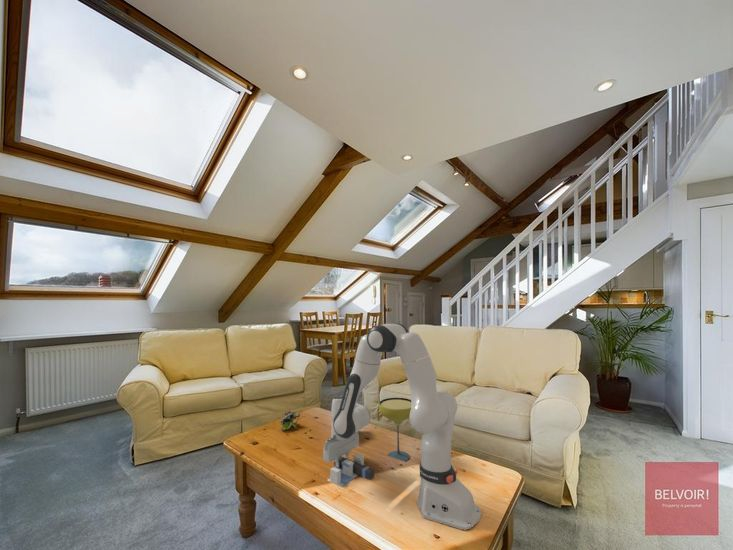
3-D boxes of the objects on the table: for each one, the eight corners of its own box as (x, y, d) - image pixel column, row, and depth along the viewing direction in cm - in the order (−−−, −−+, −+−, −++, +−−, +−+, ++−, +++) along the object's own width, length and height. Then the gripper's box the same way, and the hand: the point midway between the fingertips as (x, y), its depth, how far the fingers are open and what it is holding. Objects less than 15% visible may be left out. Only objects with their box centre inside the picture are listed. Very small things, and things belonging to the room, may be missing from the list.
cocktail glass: (405, 445, 170) (404, 395, 171) (425, 461, 153) (423, 406, 155) (373, 452, 162) (372, 400, 164) (390, 469, 146) (389, 412, 147)
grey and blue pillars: (368, 472, 144) (367, 457, 144) (341, 491, 130) (341, 473, 131) (353, 466, 149) (353, 451, 149) (326, 483, 136) (326, 467, 136)
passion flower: (287, 435, 196) (293, 414, 203) (300, 436, 190) (306, 414, 198) (274, 429, 189) (281, 408, 197) (287, 429, 184) (293, 408, 191)
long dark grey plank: (374, 476, 138) (374, 468, 138) (369, 480, 135) (369, 472, 136) (339, 462, 150) (339, 455, 150) (334, 465, 148) (334, 457, 148)
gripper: (330, 442, 138) (330, 476, 137) (361, 426, 154) (361, 457, 153) (319, 438, 142) (319, 471, 141) (350, 423, 158) (351, 453, 157)
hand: (341, 464), depth 147 cm, fingers closed on long dark grey plank, 3 cm apart
